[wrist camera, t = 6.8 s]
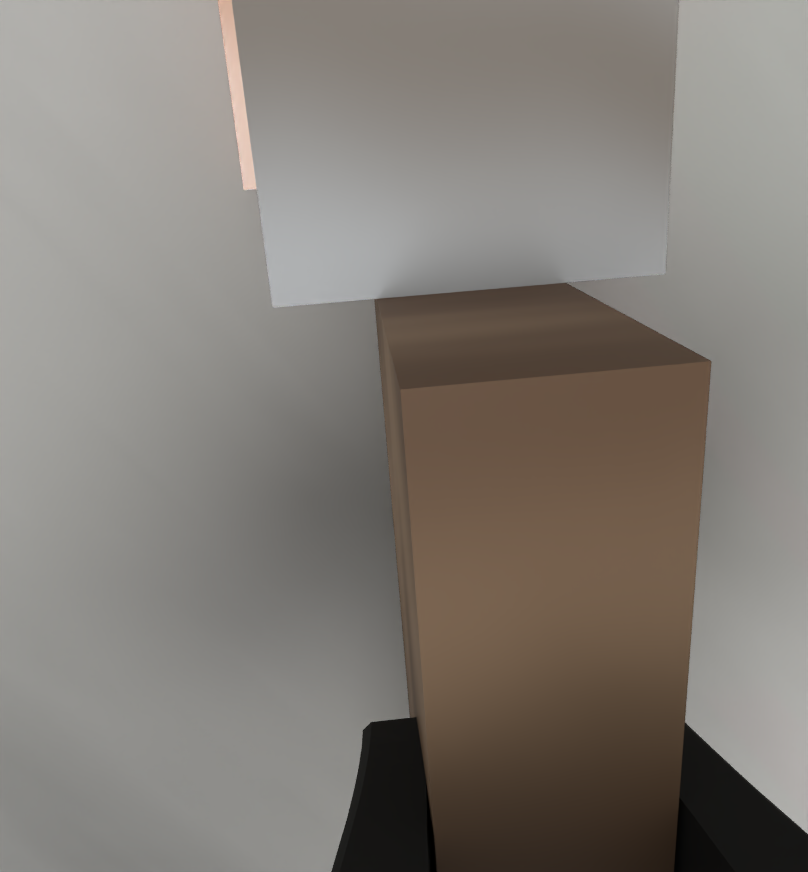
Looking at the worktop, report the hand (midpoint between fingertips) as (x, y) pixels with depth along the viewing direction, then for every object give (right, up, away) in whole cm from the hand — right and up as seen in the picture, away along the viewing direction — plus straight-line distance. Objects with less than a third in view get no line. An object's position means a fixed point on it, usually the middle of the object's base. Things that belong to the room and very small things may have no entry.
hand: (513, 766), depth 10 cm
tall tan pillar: (0, +3, +2) cm, 4 cm away
